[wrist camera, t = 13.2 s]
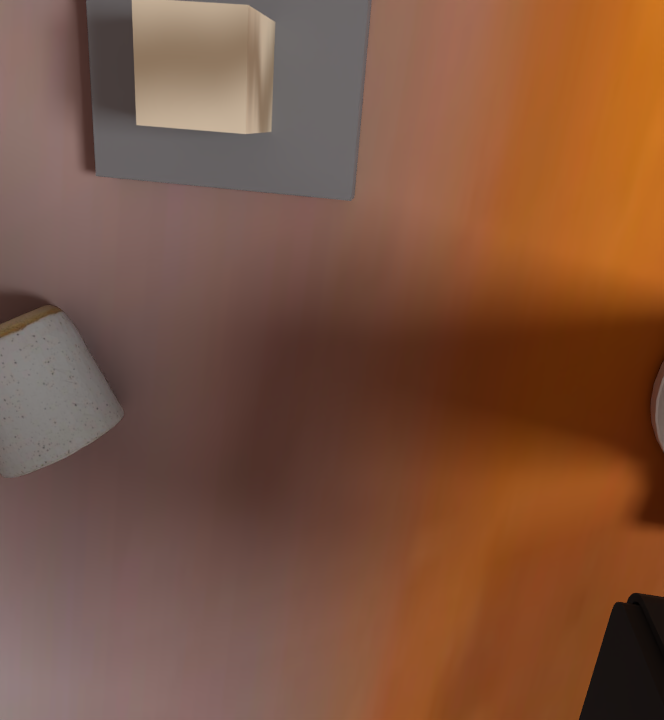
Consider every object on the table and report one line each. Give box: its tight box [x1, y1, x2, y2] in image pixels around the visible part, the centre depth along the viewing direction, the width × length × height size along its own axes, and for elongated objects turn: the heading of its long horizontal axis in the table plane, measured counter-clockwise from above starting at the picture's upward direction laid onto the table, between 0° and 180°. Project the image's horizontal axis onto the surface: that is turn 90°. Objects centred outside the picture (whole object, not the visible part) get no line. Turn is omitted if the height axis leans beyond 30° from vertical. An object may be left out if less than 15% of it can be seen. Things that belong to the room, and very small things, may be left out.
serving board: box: [86, 0, 371, 201], centre depth 33 cm, size 11×14×2 cm
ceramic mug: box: [0, 305, 124, 478], centre depth 38 cm, size 11×8×8 cm
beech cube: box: [132, 0, 275, 134], centre depth 29 cm, size 5×5×5 cm
